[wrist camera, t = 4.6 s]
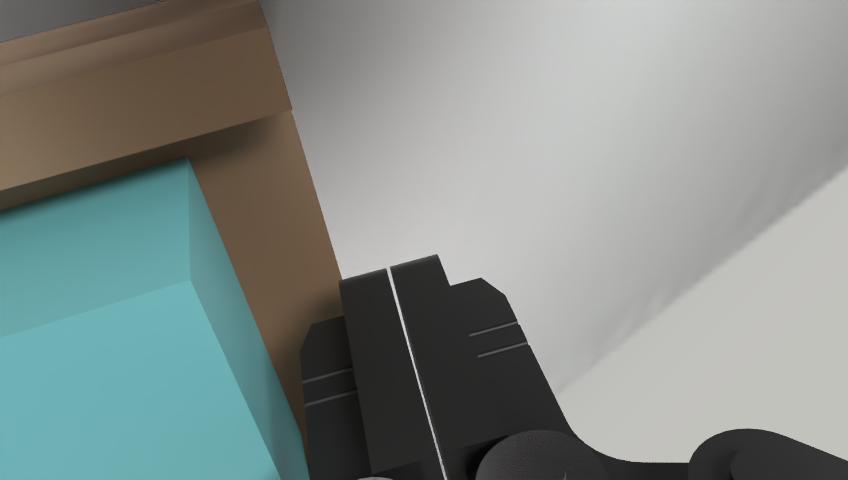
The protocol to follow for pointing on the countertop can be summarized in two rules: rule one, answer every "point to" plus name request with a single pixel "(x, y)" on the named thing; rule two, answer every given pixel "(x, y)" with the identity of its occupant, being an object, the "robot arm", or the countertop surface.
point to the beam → (181, 145)
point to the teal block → (133, 342)
